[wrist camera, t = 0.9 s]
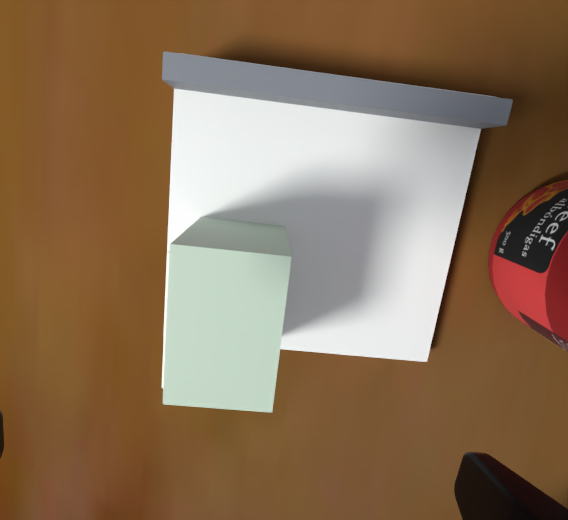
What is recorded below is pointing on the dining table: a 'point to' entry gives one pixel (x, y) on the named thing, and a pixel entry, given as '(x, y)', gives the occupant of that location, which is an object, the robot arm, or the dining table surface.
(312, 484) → the dining table surface
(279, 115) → the shelf
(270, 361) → the carton
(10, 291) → the dining table surface
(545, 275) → the canned food
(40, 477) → the dining table surface
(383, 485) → the dining table surface
